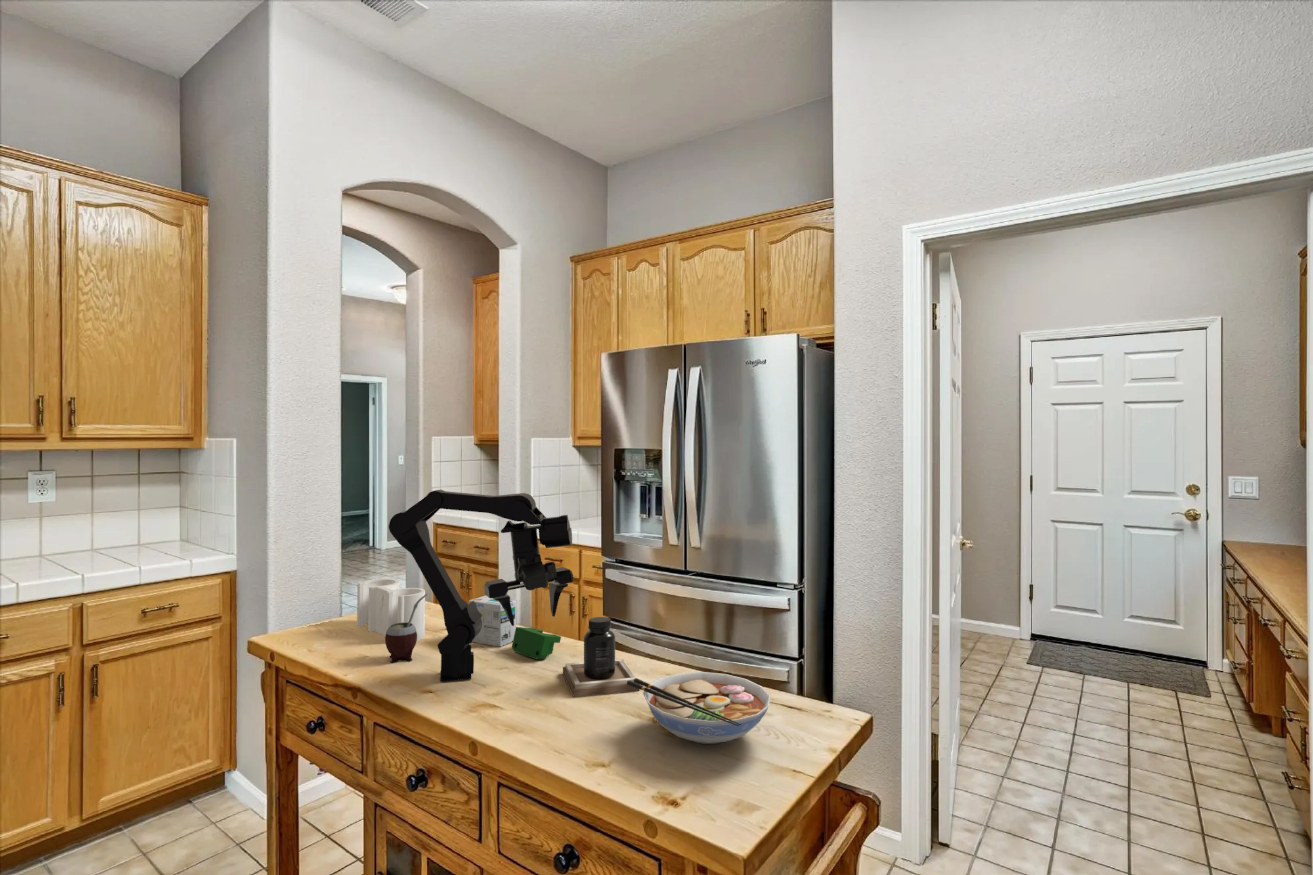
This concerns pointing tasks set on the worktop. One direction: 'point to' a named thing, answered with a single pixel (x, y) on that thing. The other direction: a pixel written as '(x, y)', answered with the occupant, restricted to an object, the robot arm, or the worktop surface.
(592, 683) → the beige square tray
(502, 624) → the light bulb box
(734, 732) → the ramen bowl
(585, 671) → the supplement bottle
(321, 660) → the worktop surface
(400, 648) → the mate gourd
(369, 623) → the white piece
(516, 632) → the clamp
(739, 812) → the worktop surface
